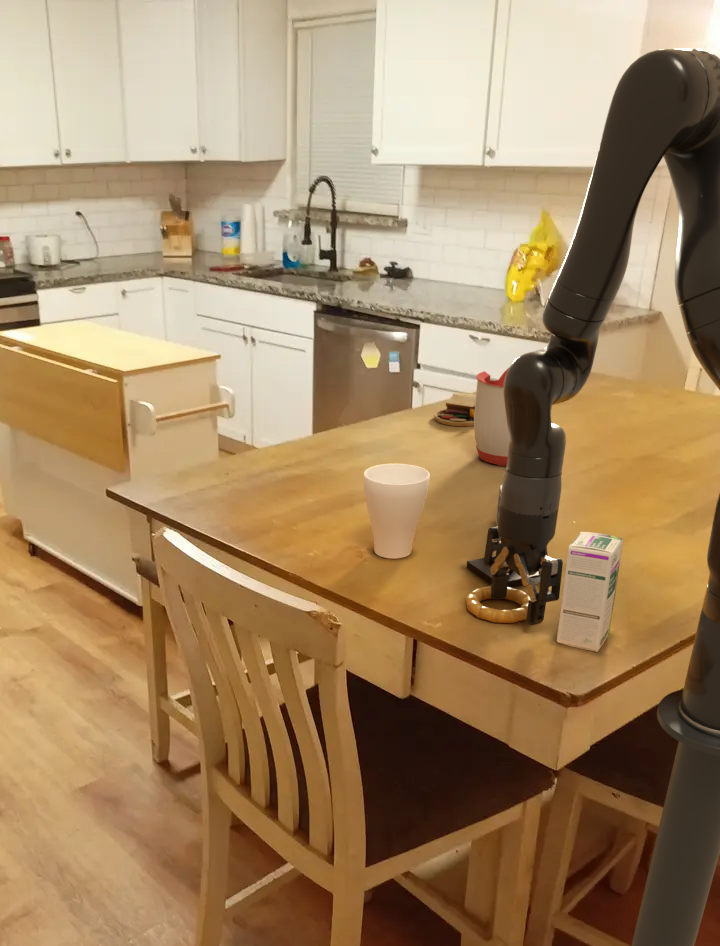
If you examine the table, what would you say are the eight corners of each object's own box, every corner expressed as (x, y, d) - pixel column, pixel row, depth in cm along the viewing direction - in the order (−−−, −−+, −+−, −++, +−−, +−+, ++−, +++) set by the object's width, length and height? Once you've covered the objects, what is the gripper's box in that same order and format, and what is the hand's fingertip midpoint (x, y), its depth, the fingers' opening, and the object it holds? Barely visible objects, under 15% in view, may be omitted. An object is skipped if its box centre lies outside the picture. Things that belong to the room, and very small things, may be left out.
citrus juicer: (514, 441, 208) (524, 348, 198) (562, 464, 193) (575, 365, 184) (451, 450, 204) (458, 355, 194) (494, 474, 189) (505, 373, 180)
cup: (358, 540, 162) (360, 463, 156) (420, 539, 162) (425, 462, 155) (363, 565, 153) (366, 485, 147) (428, 564, 153) (434, 484, 146)
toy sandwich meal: (423, 422, 223) (424, 402, 221) (450, 409, 233) (452, 390, 230) (472, 430, 216) (474, 409, 214) (498, 416, 226) (500, 396, 223)
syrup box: (598, 653, 126) (615, 552, 119) (553, 642, 129) (568, 544, 122) (609, 635, 130) (626, 537, 123) (565, 625, 133) (580, 529, 126)
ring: (547, 617, 135) (549, 606, 134) (490, 630, 132) (491, 618, 132) (508, 590, 143) (509, 579, 142) (453, 602, 140) (454, 591, 140)
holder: (548, 579, 146) (558, 511, 141) (498, 590, 143) (506, 521, 138) (514, 558, 154) (522, 492, 148) (466, 567, 151) (472, 501, 146)
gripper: (475, 489, 131) (465, 594, 139) (538, 525, 119) (523, 638, 127) (521, 481, 133) (508, 586, 141) (587, 516, 121) (569, 627, 129)
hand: (515, 610), depth 134 cm, fingers open, 8 cm apart
